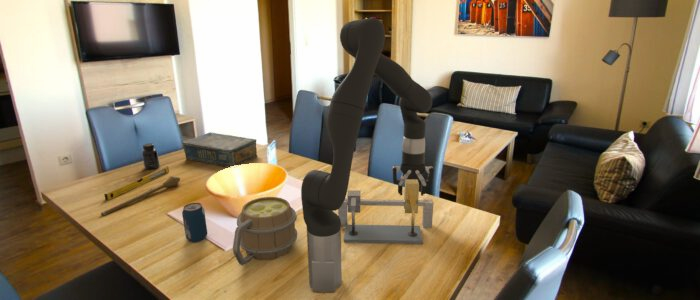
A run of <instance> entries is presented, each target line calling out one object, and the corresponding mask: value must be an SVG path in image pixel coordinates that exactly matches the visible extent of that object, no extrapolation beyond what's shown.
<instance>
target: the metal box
mask: <svg viewBox="0 0 700 300" xmlns="http://www.w3.org/2000/svg"><path fill="white" fill-rule="evenodd" d="M182 146H183V151H184V152H183V153H184V155H185V159H186V160H188V161H193V162H198V163H205V164H210V165H214V166H215V165H216V166H221V167H227V168H231V167H230V166H234V165H238V166H240V165H242V164H244V163H245V162H247V161H249V160H252V159H254V158H257V155H258V154H257V153H258V152H257V139H256V138H249V137H242V136H236V135H235V136H234V135H229V134H223V133H216V132H212V131H211V132H208V133H204V134H202V135H198V136H196V137H192V138H190V139H187V140H184V141H182ZM239 164H240V165H239Z"/></svg>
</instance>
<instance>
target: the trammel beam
mask: <svg viewBox="0 0 700 300" xmlns="http://www.w3.org/2000/svg"><path fill="white" fill-rule="evenodd" d="M361 206H372V207H373V206H378V207H379V206H380V207H384V206H386V207H389V206H390V207H397V206H398V207H404V206H405V200H404V199H377V198H376V199H372V198H369V199H368V198H367V199H366V198H361V190H353V189H352V190H351V189H350V190H349V189H347V195H346V197H345V200H344V202H343V204H342V206H341V207H340V208H339V209H338V210H337V212H338V214H337V215H338V216H339V218H340V220H341V228H345V225H348V213H351V225H352V233H355V225H356V219H355V218H356V216H355V215H356V214H357V213H361ZM418 207H422V223H421V225H422V228H423V229H432V228H433V218H434V201H433V199H432V198H431V199H430V198H429V199H428V198H427V199H425V198H423V199H418Z"/></svg>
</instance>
